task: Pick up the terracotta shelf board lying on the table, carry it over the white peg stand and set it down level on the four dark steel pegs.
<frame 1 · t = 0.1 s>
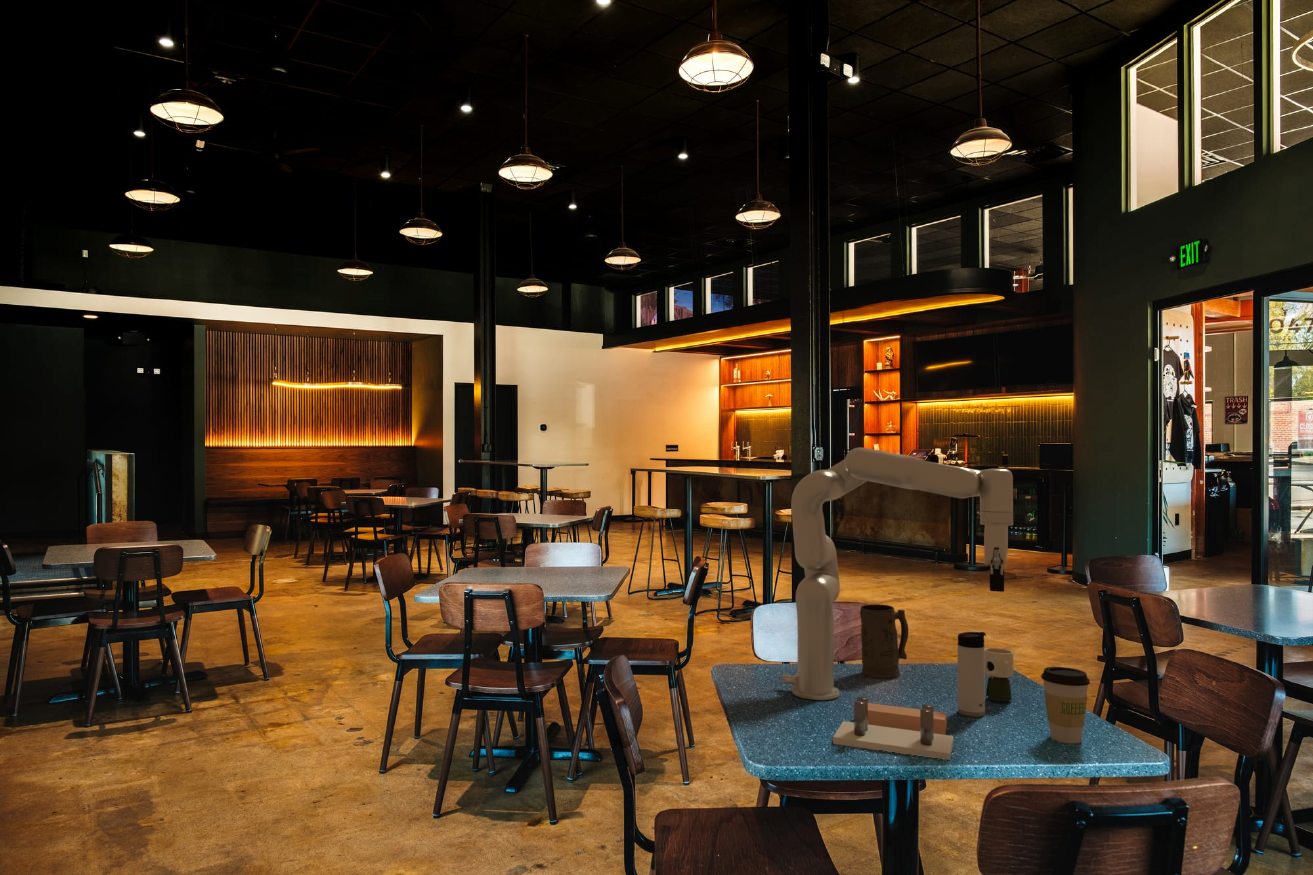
hand: (997, 588, 195), 31 cm above the table, tool pointing down, fingers open, 9 cm apart
beer stein: (884, 674, 233), on the table
character mug: (998, 701, 207), on the table
travel mug: (972, 714, 196), on the table
steel pegs: (893, 720, 174), on the peg base, point 5 cm above the table
coffee cup: (1065, 739, 178), on the table
shelf board: (900, 727, 185), on the table
peg base: (893, 743, 174), on the table
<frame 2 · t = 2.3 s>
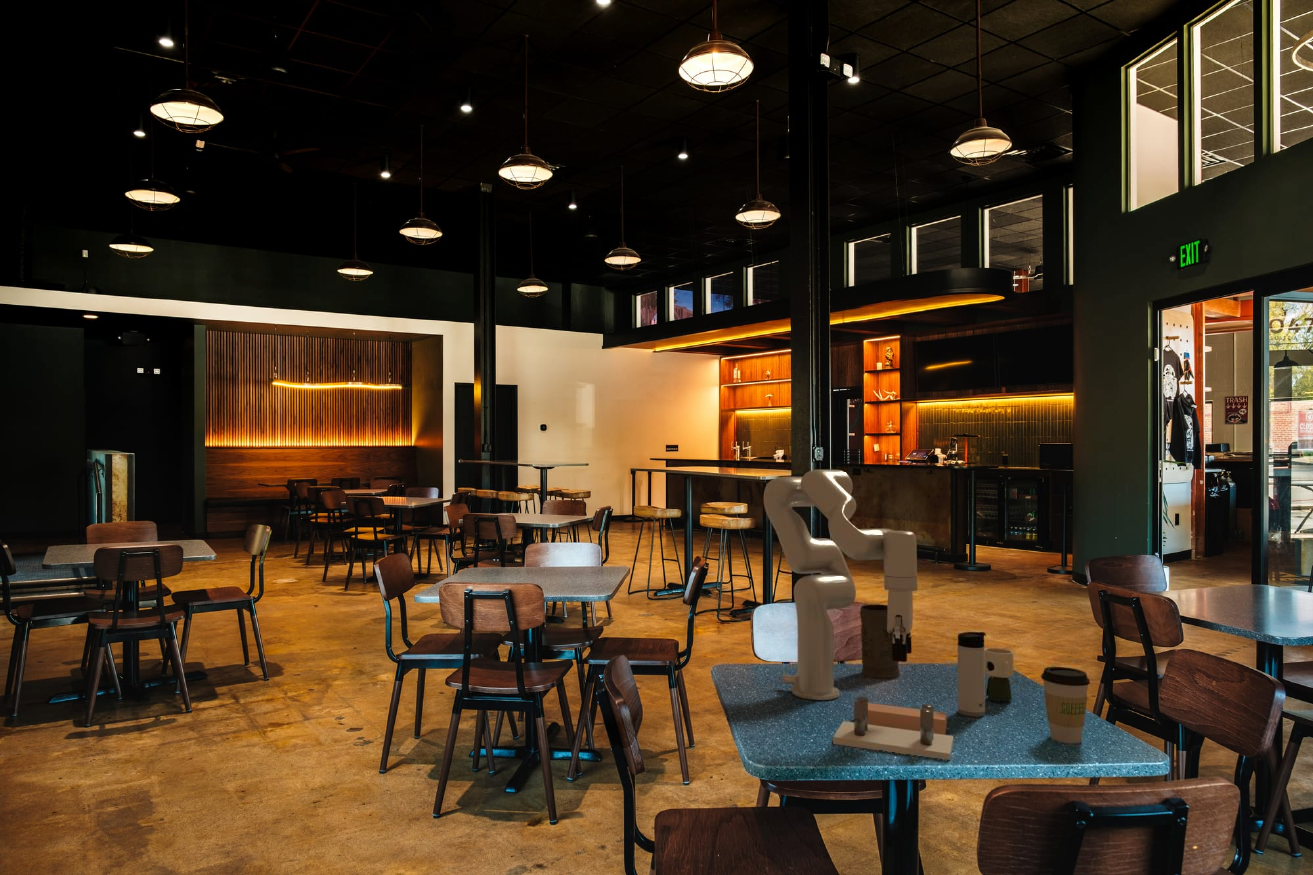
hand: (902, 656, 186), 16 cm above the table, tool pointing down, fingers open, 9 cm apart
nothing on the table moved.
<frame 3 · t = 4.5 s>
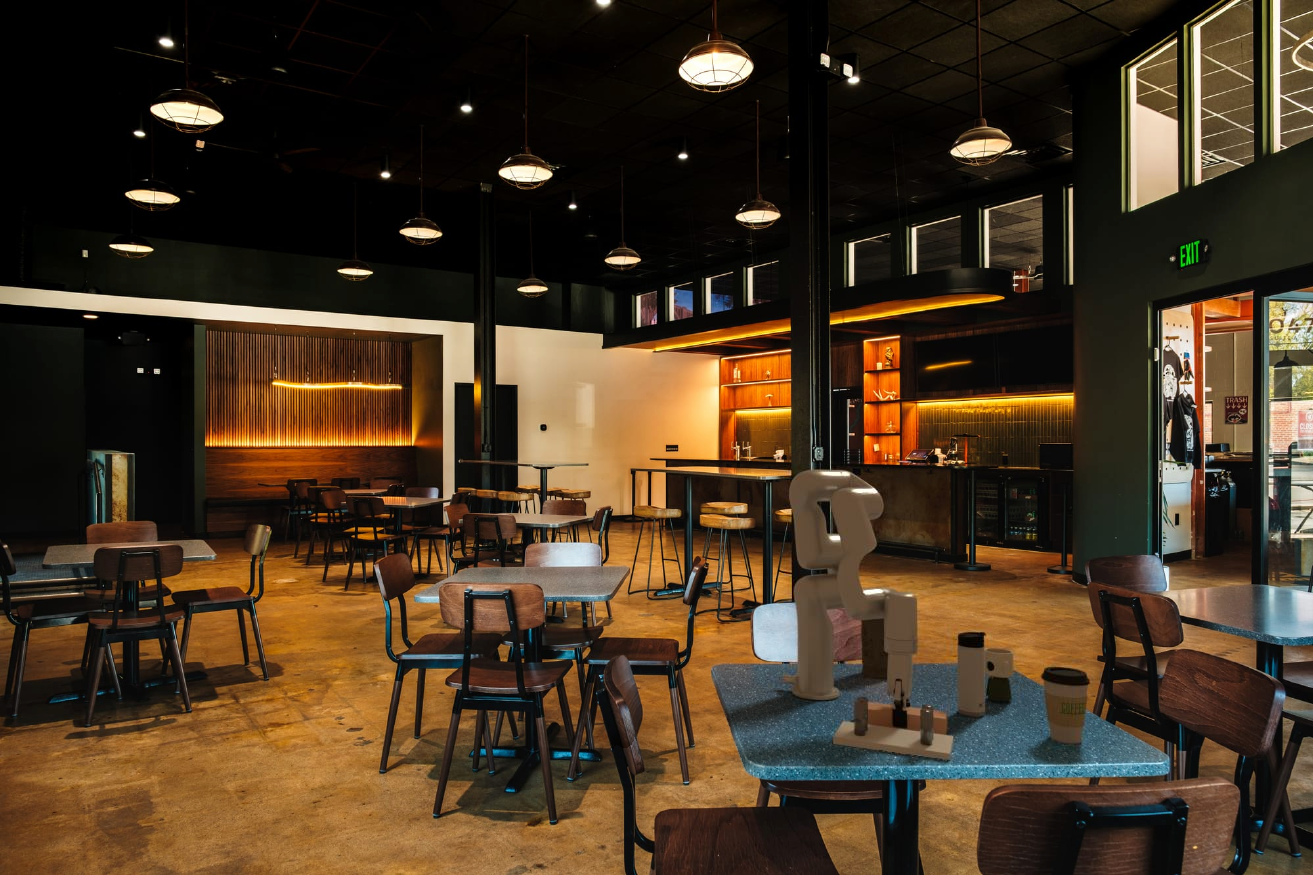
hand: (901, 722, 185), 1 cm above the table, tool pointing down, fingers closed on shelf board, 6 cm apart
shelf board: (901, 726, 185), on the table, touching gripper
everything else where it was.
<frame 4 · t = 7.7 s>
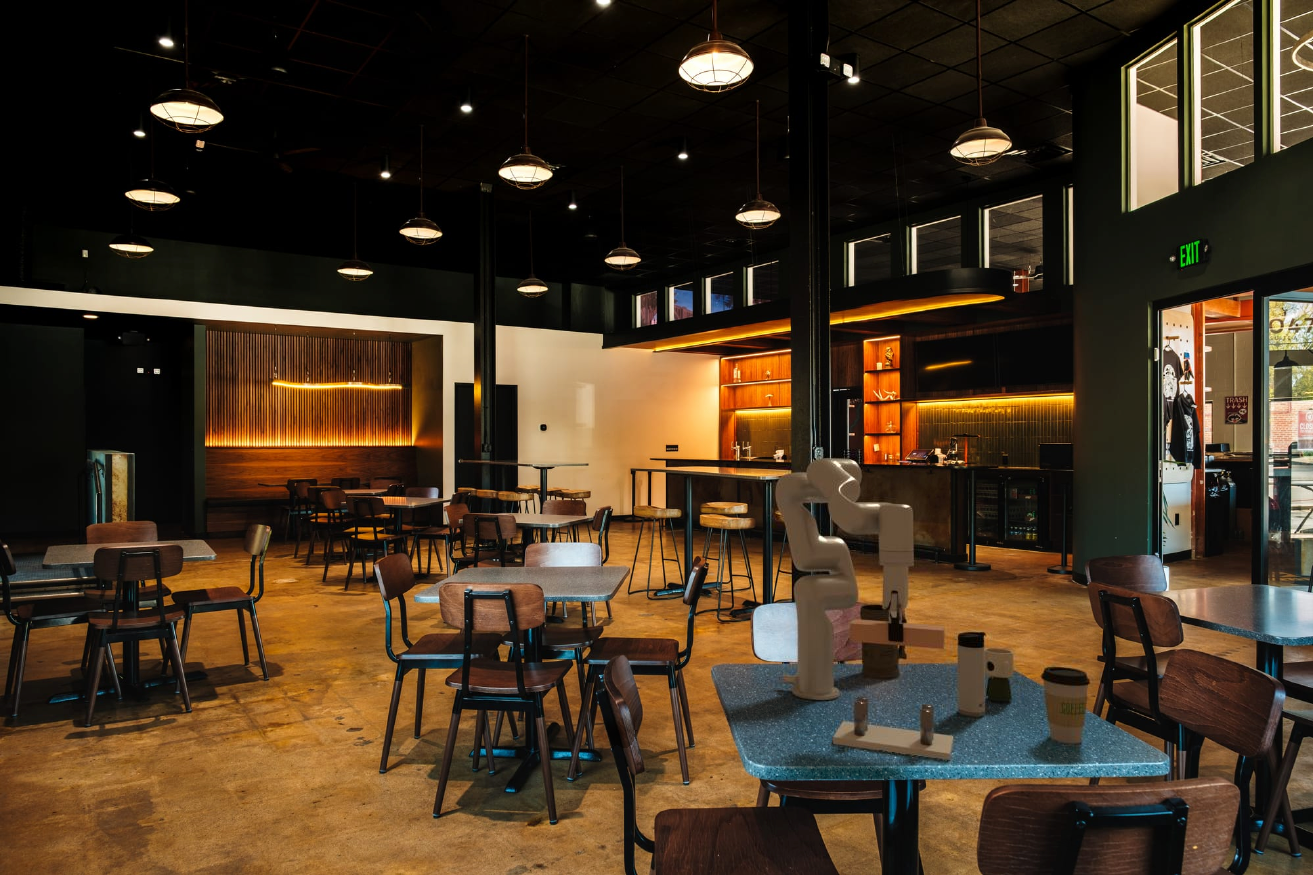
hand: (897, 637, 179), 22 cm above the table, tool pointing down, fingers closed on shelf board, 6 cm apart
shelf board: (897, 642, 179), point 21 cm above the table, touching gripper
everything else where it was.
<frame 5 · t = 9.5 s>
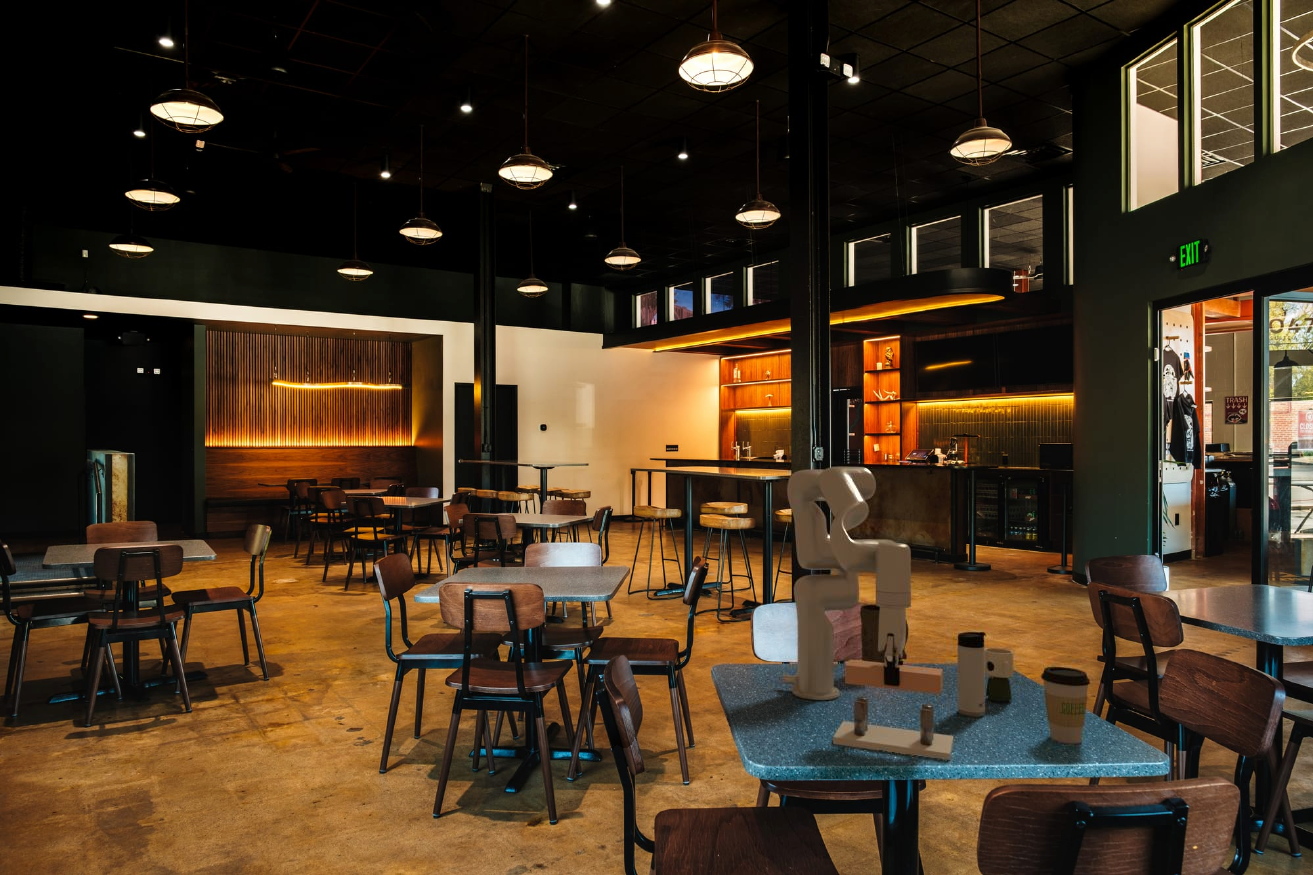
hand: (893, 680, 174), 14 cm above the table, tool pointing down, fingers closed on shelf board, 6 cm apart
shelf board: (893, 685, 174), point 13 cm above the table, touching gripper
everything else where it was.
when the fingers open (11 cm above the table, at t = 11.0 s): shelf board drops 1 cm, resting on steel pegs.
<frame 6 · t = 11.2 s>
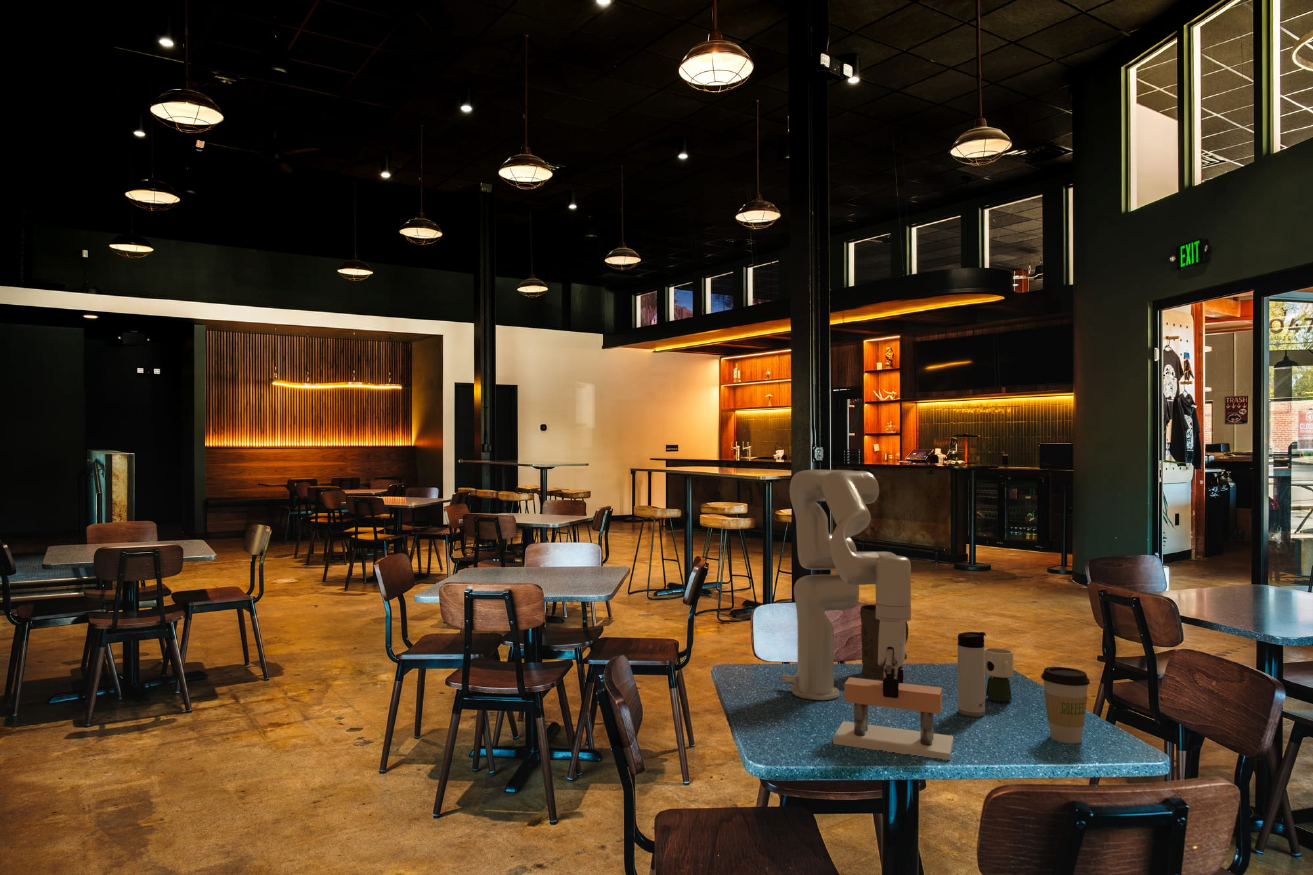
hand: (893, 691, 174), 11 cm above the table, tool pointing down, fingers open, 8 cm apart
shelf board: (892, 703, 174), point 8 cm above the table, touching steel pegs
everything else where it was.
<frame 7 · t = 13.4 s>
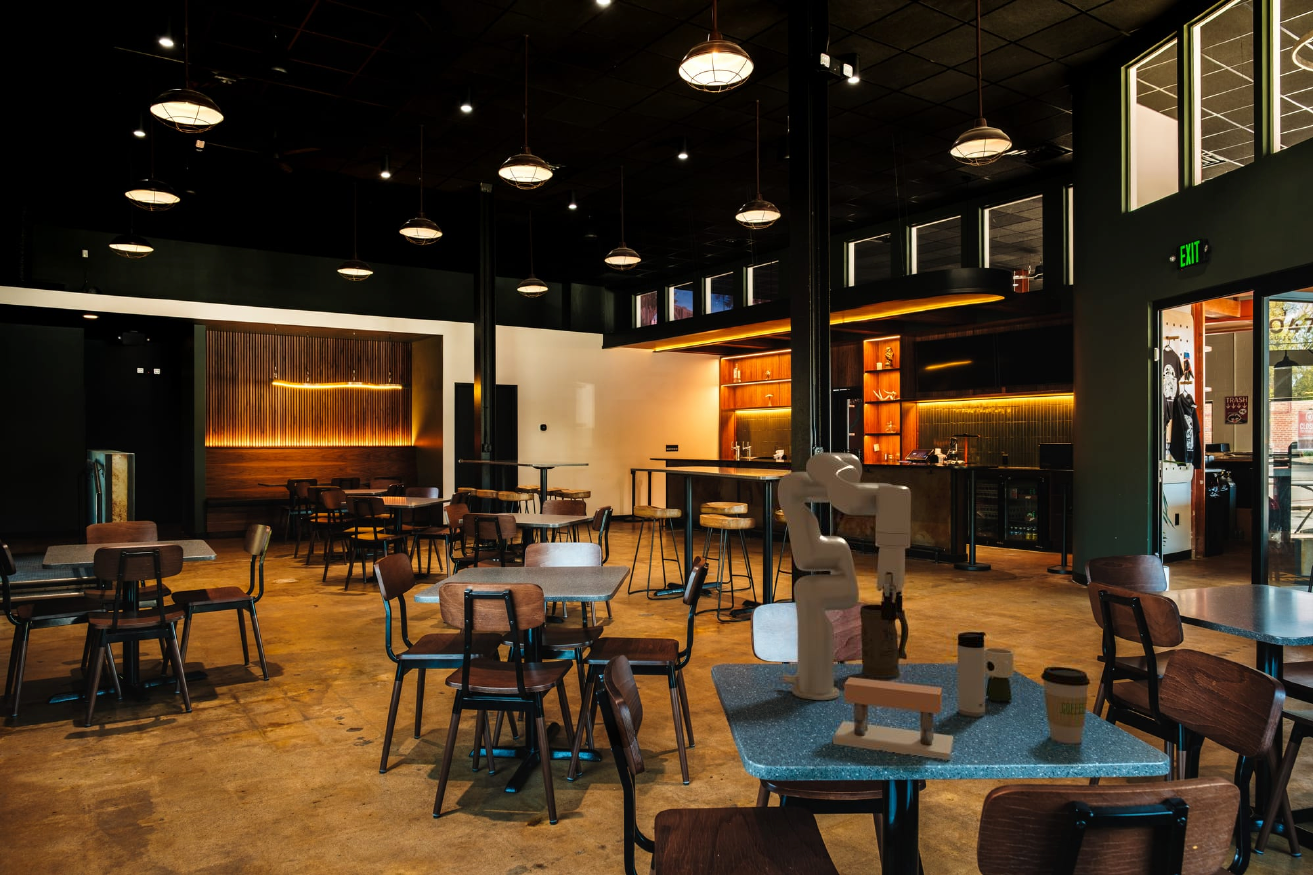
hand: (891, 615, 178), 27 cm above the table, tool pointing down, fingers open, 9 cm apart
nothing on the table moved.
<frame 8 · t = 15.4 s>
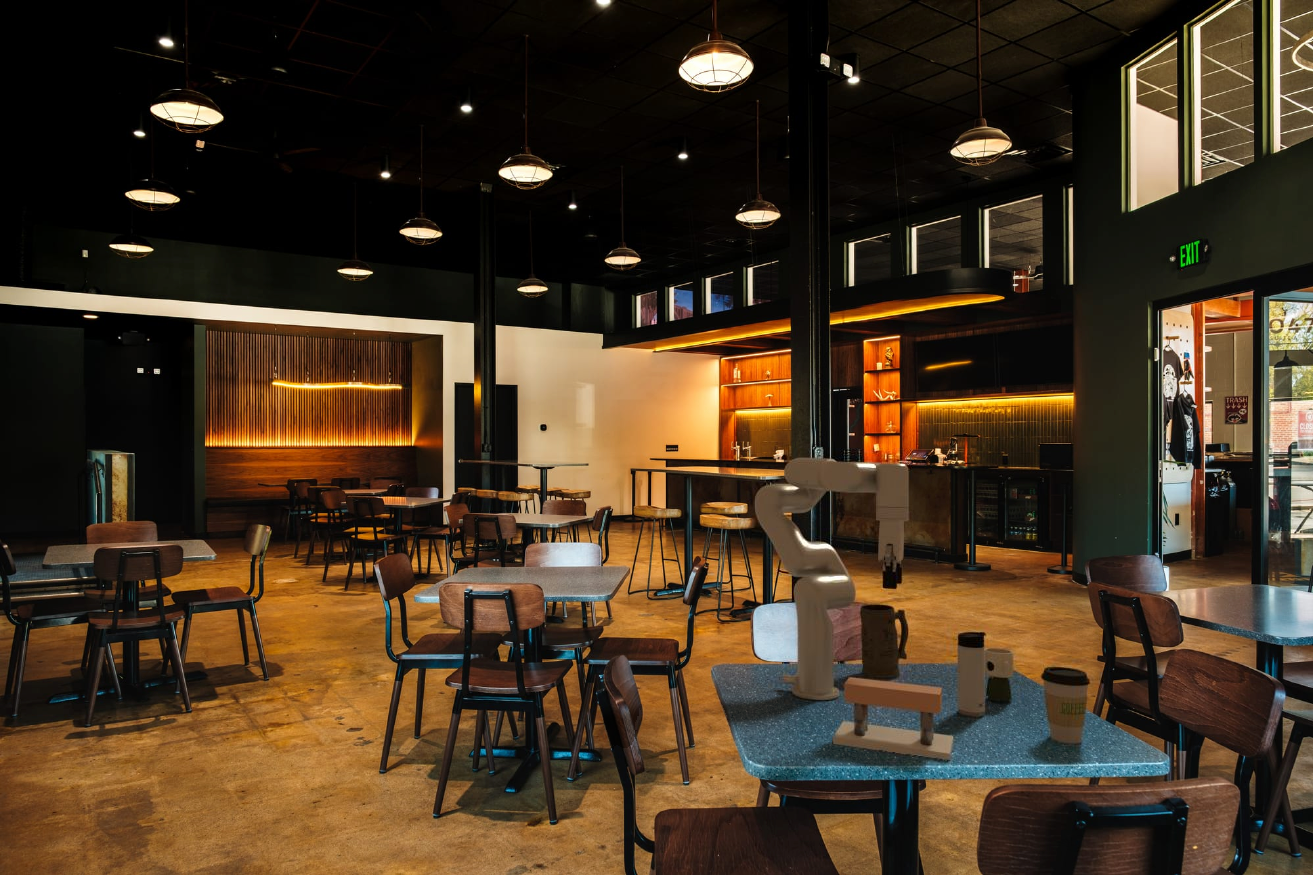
hand: (892, 585, 189), 32 cm above the table, tool pointing down, fingers open, 9 cm apart
nothing on the table moved.
at the end: shelf board 0.1 cm off-centre on the peg base, point 8.5 cm above the peg base's base; shelf board tilted 0°; shelf board touching steel pegs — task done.
